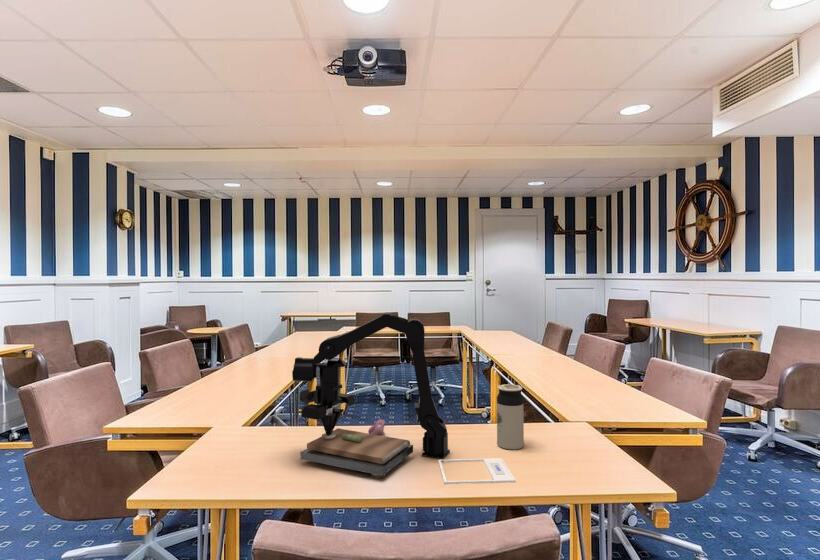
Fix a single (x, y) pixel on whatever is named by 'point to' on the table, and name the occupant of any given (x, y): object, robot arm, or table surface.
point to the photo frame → (494, 467)
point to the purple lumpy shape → (377, 428)
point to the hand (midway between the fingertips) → (328, 435)
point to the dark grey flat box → (356, 461)
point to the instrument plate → (359, 445)
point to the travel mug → (510, 417)
